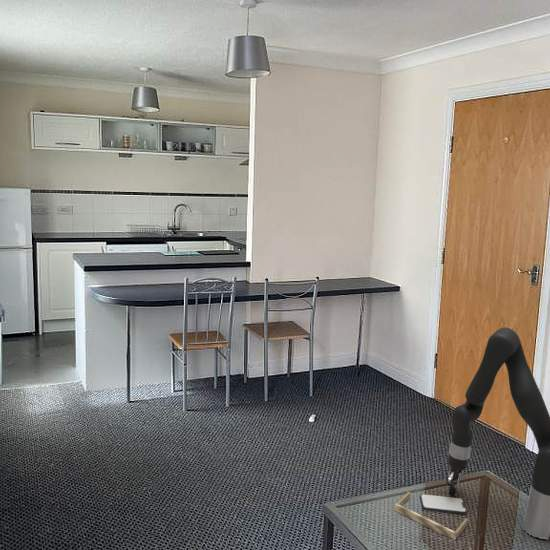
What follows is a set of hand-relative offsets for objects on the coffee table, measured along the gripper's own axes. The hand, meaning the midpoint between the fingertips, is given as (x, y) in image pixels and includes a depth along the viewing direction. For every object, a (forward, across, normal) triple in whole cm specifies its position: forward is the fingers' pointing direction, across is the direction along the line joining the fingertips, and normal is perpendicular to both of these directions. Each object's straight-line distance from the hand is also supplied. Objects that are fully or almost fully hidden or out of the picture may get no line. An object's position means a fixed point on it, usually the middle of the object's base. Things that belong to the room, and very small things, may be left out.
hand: (452, 494), depth 228 cm
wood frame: (0, -19, 0) cm, 19 cm away
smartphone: (+1, -8, 0) cm, 9 cm away
